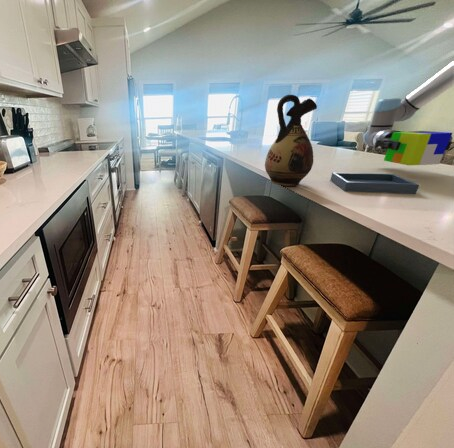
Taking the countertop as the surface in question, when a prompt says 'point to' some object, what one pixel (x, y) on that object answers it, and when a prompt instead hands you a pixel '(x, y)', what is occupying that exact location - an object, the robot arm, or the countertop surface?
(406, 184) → the storage tray
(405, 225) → the countertop surface
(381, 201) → the countertop surface
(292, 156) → the ceramic jug
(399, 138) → the puzzle toy
